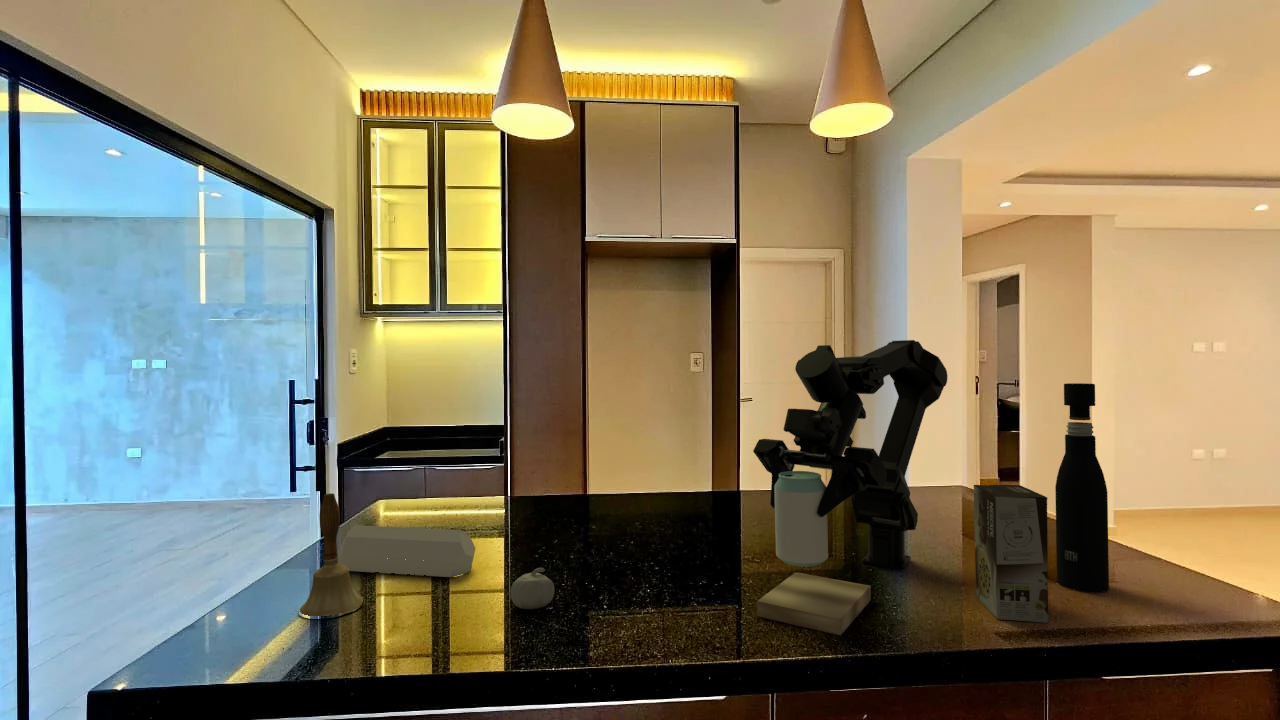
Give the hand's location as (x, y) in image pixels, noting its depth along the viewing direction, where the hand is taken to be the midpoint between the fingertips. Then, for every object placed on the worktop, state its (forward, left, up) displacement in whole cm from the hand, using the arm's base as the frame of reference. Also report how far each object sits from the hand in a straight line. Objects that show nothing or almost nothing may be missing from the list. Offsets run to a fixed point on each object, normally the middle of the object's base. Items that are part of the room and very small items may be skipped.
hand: (795, 510), depth 87 cm
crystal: (+20, -60, -14) cm, 64 cm away
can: (-1, 0, -7) cm, 7 cm away
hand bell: (+36, -54, -13) cm, 66 cm away
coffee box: (-15, +24, -13) cm, 32 cm away
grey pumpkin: (+20, -31, -13) cm, 39 cm away
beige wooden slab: (-1, +2, -14) cm, 14 cm away
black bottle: (-31, +32, -13) cm, 47 cm away
